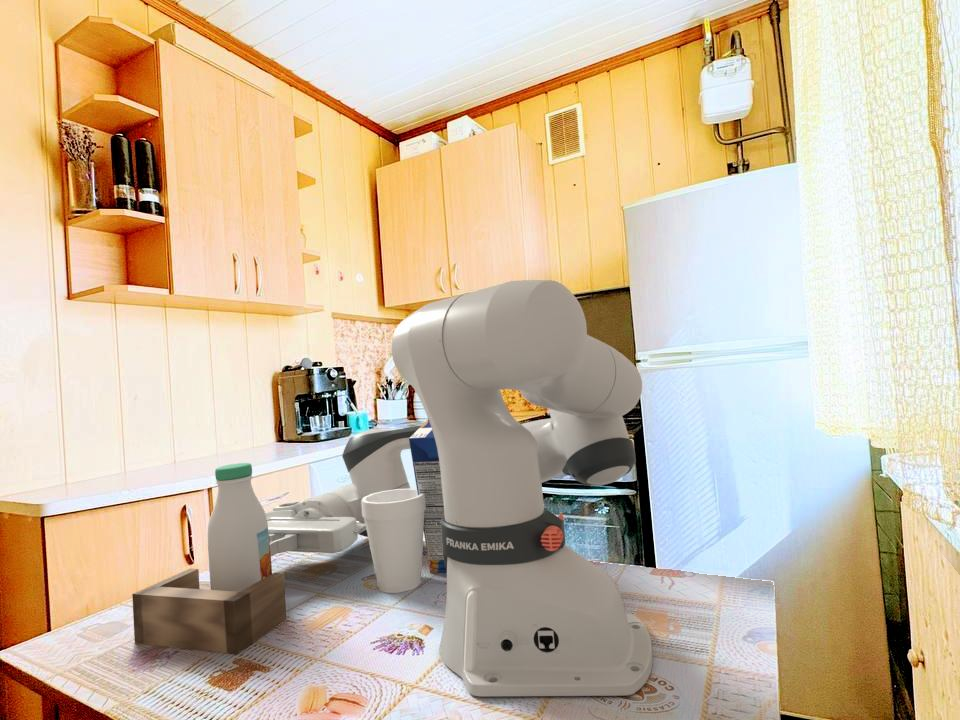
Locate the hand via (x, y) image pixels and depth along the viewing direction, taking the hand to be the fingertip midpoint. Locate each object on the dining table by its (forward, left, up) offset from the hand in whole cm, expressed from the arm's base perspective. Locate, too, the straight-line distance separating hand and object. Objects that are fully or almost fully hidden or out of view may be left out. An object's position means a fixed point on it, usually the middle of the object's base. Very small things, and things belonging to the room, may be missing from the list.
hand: (260, 551), depth 73 cm
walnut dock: (0, +10, -7) cm, 12 cm away
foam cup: (-18, -7, -7) cm, 21 cm away
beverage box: (-24, -17, -6) cm, 30 cm away
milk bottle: (0, +4, -7) cm, 8 cm away
